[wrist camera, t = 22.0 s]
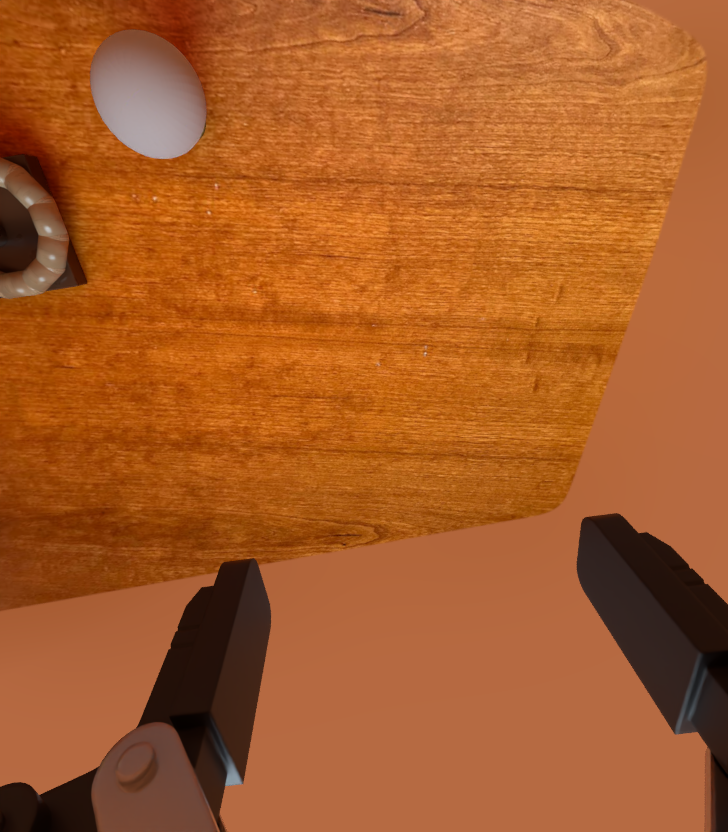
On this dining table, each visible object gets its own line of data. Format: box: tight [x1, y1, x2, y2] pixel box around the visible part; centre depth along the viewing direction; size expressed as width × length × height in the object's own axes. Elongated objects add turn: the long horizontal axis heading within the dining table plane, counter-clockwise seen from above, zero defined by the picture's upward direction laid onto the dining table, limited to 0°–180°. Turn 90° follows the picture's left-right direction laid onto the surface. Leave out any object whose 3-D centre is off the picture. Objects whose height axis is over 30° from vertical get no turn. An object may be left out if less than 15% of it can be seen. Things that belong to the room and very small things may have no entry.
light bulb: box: [90, 29, 206, 159], centre depth 27 cm, size 6×6×10 cm
